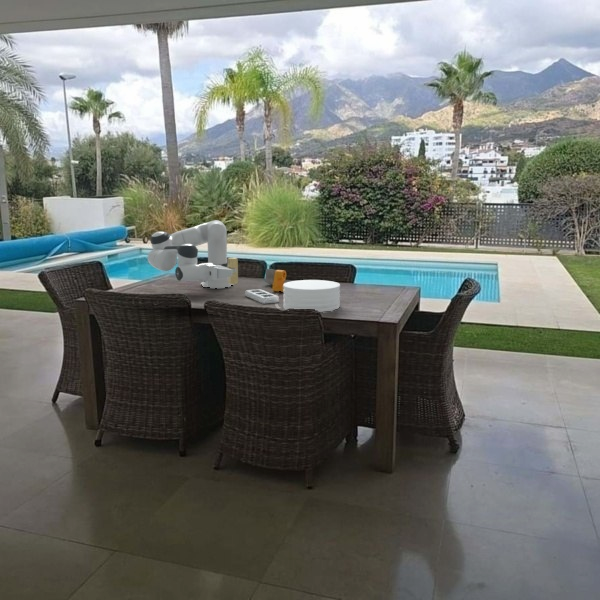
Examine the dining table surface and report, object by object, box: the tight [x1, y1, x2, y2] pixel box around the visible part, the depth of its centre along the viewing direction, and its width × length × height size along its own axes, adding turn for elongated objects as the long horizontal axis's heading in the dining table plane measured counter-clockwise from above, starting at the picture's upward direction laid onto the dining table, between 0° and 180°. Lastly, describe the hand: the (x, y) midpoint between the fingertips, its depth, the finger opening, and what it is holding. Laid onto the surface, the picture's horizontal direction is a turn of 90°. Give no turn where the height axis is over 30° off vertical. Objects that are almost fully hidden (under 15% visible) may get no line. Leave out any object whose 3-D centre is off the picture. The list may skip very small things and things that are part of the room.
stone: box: [264, 268, 286, 286], centre depth 348 cm, size 15×5×10 cm, turn 47°
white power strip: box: [244, 288, 280, 305], centre depth 308 cm, size 24×9×3 cm, turn 27°
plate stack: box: [282, 279, 341, 311], centre depth 288 cm, size 28×28×12 cm
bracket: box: [271, 269, 287, 293], centre depth 330 cm, size 11×7×12 cm, turn 152°
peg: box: [227, 257, 239, 285], centre depth 298 cm, size 4×4×13 cm
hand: (234, 269), depth 299 cm, fingers closed on peg, 4 cm apart
